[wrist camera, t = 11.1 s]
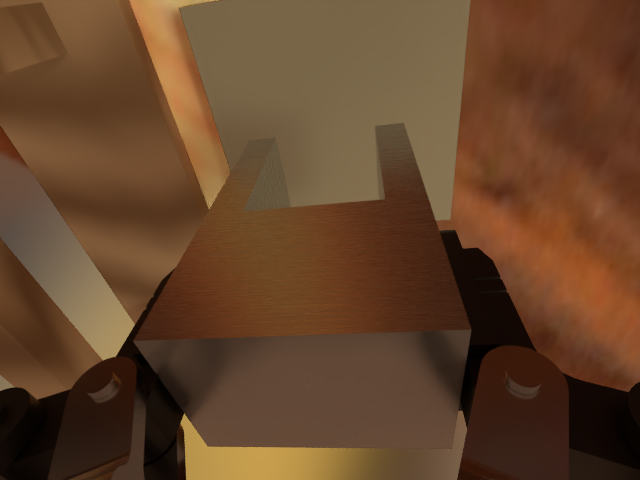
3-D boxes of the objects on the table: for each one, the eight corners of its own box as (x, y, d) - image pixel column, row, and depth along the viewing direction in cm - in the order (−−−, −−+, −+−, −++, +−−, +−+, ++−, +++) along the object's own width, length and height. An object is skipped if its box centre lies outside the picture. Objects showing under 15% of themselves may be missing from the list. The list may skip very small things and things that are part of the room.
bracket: (249, 140, 13) (132, 341, 6) (403, 122, 13) (471, 329, 5) (273, 228, 16) (208, 446, 9) (404, 217, 15) (451, 448, 8)
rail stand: (-67, -6, 16) (-536, 30, 8) (112, -41, 15) (-208, -45, 7) (142, 316, 30) (54, 463, 21) (247, 312, 28) (201, 467, 20)
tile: (185, 5, 16) (178, 7, 15) (468, -42, 14) (474, -42, 14) (253, 226, 23) (250, 233, 23) (447, 211, 21) (450, 219, 21)
